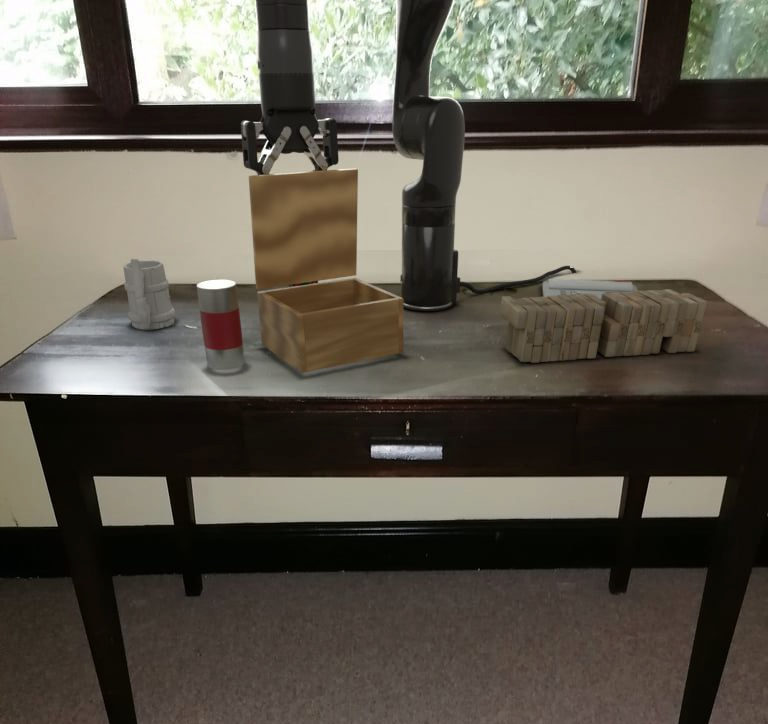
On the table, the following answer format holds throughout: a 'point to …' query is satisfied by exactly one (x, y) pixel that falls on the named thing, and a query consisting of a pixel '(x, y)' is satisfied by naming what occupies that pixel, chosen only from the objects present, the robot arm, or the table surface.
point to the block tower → (602, 324)
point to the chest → (331, 323)
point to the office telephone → (585, 287)
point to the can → (221, 324)
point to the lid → (304, 226)
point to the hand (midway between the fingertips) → (294, 199)
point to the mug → (148, 295)
